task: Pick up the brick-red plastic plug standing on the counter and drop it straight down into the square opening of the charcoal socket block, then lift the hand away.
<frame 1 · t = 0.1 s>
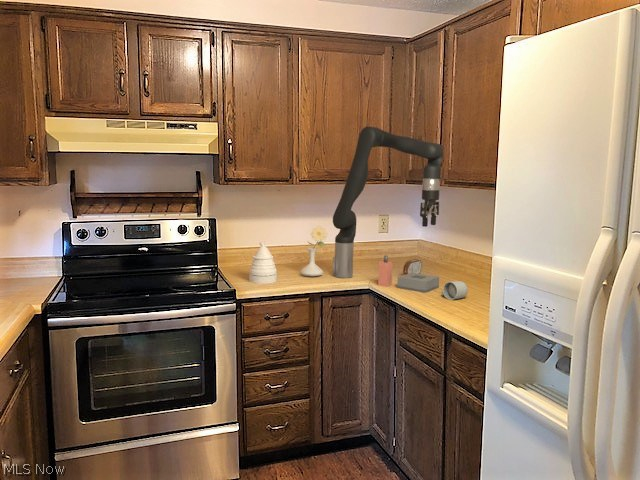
hand: (429, 225, 237), 29 cm above the table, tool pointing down, fingers open, 8 cm apart
socket block: (418, 287, 245), on the table
ceramic mug: (452, 298, 227), on the table
tin: (412, 276, 271), on the table
honey pot: (263, 281, 254), on the table
flower in vase: (313, 276, 267), on the table
plug: (384, 285, 249), on the table
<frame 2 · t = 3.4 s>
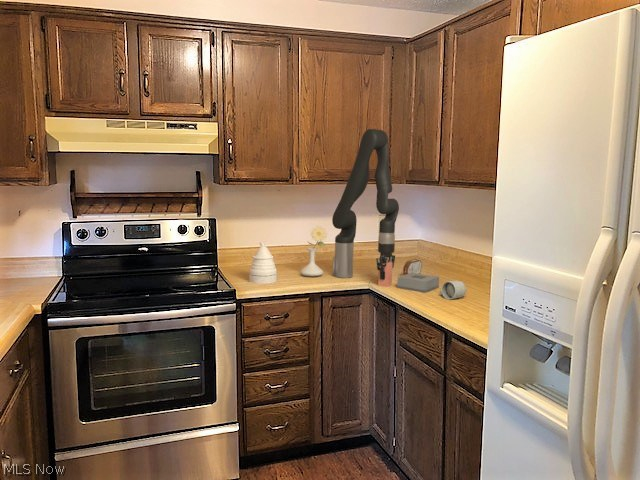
hand: (385, 278, 248), 3 cm above the table, tool pointing down, fingers closed on plug, 4 cm apart
plug: (384, 285, 249), on the table, touching gripper
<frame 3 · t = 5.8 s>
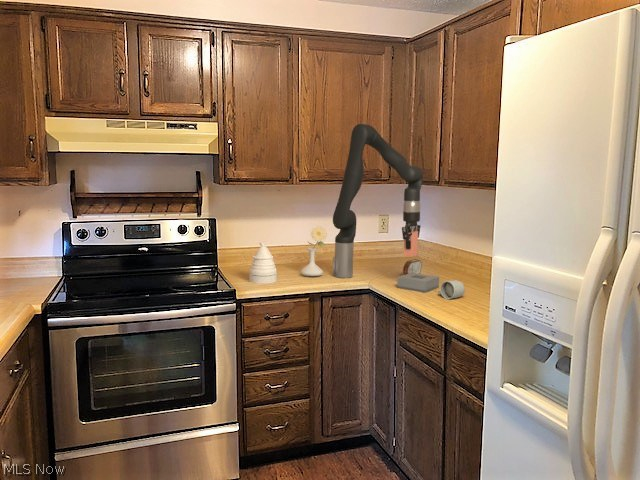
hand: (410, 248, 243), 18 cm above the table, tool pointing down, fingers closed on plug, 4 cm apart
plug: (410, 255, 244), point 15 cm above the table, touching gripper
when the fingers open (6 cm above the table, at t = 8.3 s): plug drops 2 cm, resting on socket block.
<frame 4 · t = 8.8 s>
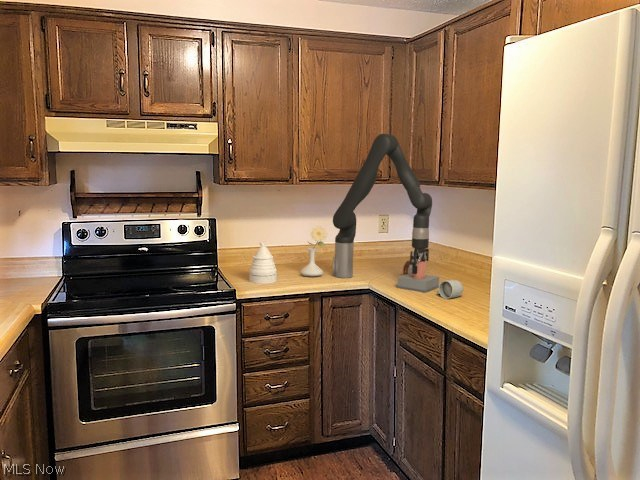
hand: (418, 272, 245), 7 cm above the table, tool pointing down, fingers open, 8 cm apart
plug: (418, 285, 245), point 1 cm above the table, touching socket block
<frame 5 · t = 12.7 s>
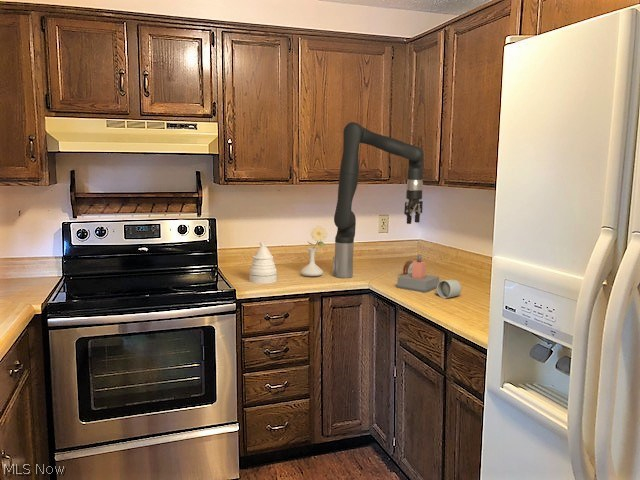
hand: (413, 223, 257), 28 cm above the table, tool pointing down, fingers open, 8 cm apart
at the end: plug 0.0 cm off-centre on the socket block, point 1.0 cm above the socket block's base; plug tilted 0°; the gripper is holding nothing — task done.
